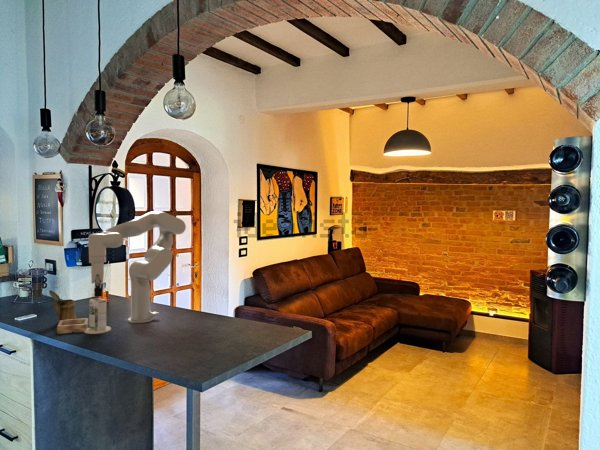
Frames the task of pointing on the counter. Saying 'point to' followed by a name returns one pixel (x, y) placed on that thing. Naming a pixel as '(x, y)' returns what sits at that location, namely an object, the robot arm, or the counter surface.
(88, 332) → the cream shiny round part
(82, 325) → the oak collar
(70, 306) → the wooden mug
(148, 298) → the robot arm
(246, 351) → the counter surface
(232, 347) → the counter surface
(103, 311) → the syrup box
